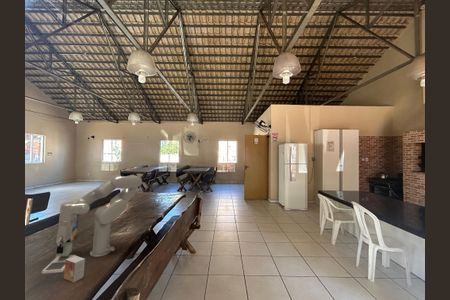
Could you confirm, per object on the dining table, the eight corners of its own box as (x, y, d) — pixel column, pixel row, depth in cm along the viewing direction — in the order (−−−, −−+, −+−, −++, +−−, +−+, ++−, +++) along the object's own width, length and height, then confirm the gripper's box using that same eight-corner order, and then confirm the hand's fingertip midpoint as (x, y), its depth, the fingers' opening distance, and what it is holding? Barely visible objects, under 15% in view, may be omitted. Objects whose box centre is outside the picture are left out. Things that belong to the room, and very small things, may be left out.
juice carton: (68, 244, 154) (71, 211, 155) (57, 244, 153) (59, 211, 154) (76, 237, 166) (79, 207, 167) (66, 237, 165) (68, 207, 166)
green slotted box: (60, 252, 133) (61, 242, 133) (71, 251, 135) (72, 241, 135) (56, 256, 127) (56, 246, 128) (67, 255, 129) (68, 245, 129)
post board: (57, 258, 134) (58, 243, 134) (75, 257, 137) (76, 242, 137) (41, 273, 117) (43, 256, 117) (62, 272, 119) (63, 255, 120)
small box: (63, 278, 113) (65, 259, 114) (74, 273, 118) (75, 255, 119) (73, 282, 110) (74, 262, 111) (83, 277, 116) (85, 258, 116)
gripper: (65, 218, 139) (62, 244, 138) (52, 227, 122) (48, 256, 121) (78, 218, 141) (75, 244, 140) (66, 227, 124) (63, 256, 124)
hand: (63, 250), depth 131 cm, fingers open, 9 cm apart
